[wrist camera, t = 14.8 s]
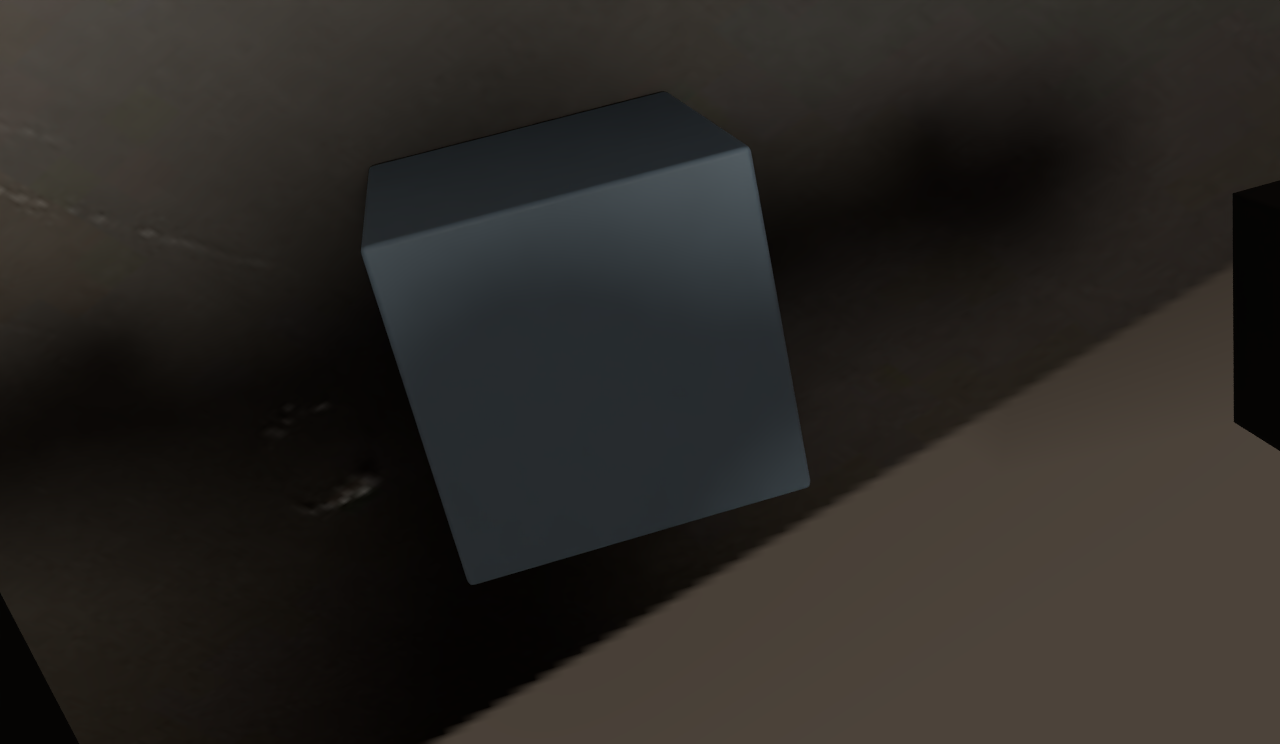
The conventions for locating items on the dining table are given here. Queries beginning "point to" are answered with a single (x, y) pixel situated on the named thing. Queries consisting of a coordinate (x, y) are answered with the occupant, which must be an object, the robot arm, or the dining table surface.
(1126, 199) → the dining table surface
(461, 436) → the slate-blue block
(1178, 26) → the dining table surface
